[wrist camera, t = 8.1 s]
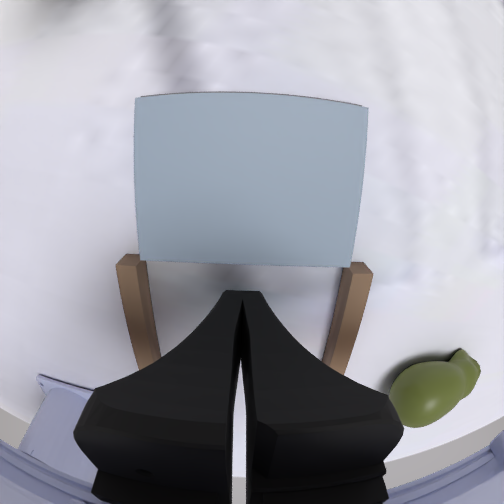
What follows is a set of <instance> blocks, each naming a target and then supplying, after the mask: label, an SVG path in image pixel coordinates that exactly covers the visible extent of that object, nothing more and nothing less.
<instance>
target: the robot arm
mask: <svg viewBox="0 0 504 504" xmlns="http://www.w3.org/2000/svg"><path fill="white" fill-rule="evenodd" d="M240 360H241V364H242V375H243V384H244V394H245V403H246V504H504V430H503V431H502V432H500V433H499V434H498V435H497V436H496V437H495V438H494V440H492V442H491V443H490V445H489V446H486V447H485V448H483V449H481V450H480V451H478V452H476V453H474V454H472V455H470V456H469V457H467V458H465V459H463V460H461V461H459V462H457V463H455V464H453V465H451V466H449V467H446V468H444V469H442V470H440V471H438V472H435V473H433V474H430V475H428V476H425V477H423V478H420V479H417V480H415V481H412V482H409V483H406V484H404V485H401V486H398V487H394V488H392V489H388V490H387V489H386V486H385V483H384V480H383V475H385V474H386V468H385V465H384V462H383V461H384V459H385V458H386V457H387V456H388V455H389V454H390V453H391V451H392V450H393V449H394V448H395V447H396V445H397V444H398V442H399V441H400V439H401V437H402V436H403V431H404V427H403V425H402V423H401V420H400V418H399V416H398V413H397V411H396V409H395V407H394V406H393V404H392V402H391V401H390V399H389V397H388V395H385V394H383V393H380V392H378V391H375V390H373V389H371V388H368V387H366V386H364V385H361V384H359V383H357V382H355V381H353V380H351V379H349V378H348V377H346V376H344V375H342V374H340V373H339V372H337V371H335V370H334V369H332V368H331V367H329V366H328V365H326V364H325V363H323V362H322V361H321V360H319V359H318V358H316V357H315V356H314V355H312V354H311V353H310V352H309V351H308V350H306V349H305V348H304V347H303V346H302V345H301V344H300V343H299V342H298V341H297V340H296V339H295V338H294V337H293V336H292V335H291V334H290V333H289V332H288V331H287V329H286V328H285V327H284V326H283V325H282V323H281V322H280V321H279V319H278V318H277V317H276V315H275V314H274V313H273V311H272V310H271V308H270V307H269V305H268V304H267V302H266V300H265V299H264V297H263V295H262V293H261V292H260V291H235V290H226V291H224V292H223V293H222V295H221V297H220V299H219V300H218V302H217V303H216V305H215V306H214V308H213V309H212V310H211V311H210V313H209V314H208V315H207V316H206V318H205V319H204V320H203V321H202V322H201V323H200V324H199V326H198V327H197V328H196V329H195V330H194V331H193V332H192V333H191V334H190V335H189V336H188V337H187V338H186V339H185V340H183V341H182V342H181V343H180V344H179V345H178V346H176V347H175V348H174V349H172V350H171V351H170V352H168V353H167V354H166V355H164V356H163V357H161V358H160V359H158V360H157V361H155V362H154V363H152V364H150V365H148V366H147V367H145V368H143V369H141V370H139V371H137V372H135V373H133V374H131V375H129V376H127V377H124V378H122V379H119V380H117V381H114V382H112V383H109V384H106V385H104V386H101V387H98V388H95V390H94V391H90V390H86V389H83V388H79V387H75V386H72V385H68V384H65V383H62V382H59V381H55V380H52V379H49V378H46V377H44V376H41V375H37V377H36V380H37V381H38V383H39V385H40V387H41V388H42V390H43V392H44V393H45V395H46V398H45V399H44V401H43V403H42V404H41V406H40V408H39V410H38V411H37V413H36V415H35V417H34V419H33V420H32V422H31V424H30V426H29V428H28V430H27V432H26V434H25V435H24V437H23V439H22V441H21V444H20V445H19V448H18V449H16V448H14V447H12V446H11V445H9V444H7V443H6V442H4V441H2V440H1V439H0V504H232V452H233V414H234V403H235V396H236V389H237V382H238V374H239V367H240Z"/></svg>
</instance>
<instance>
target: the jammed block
mask: <svg viewBox="0 0 504 504" xmlns="http://www.w3.org/2000/svg"><path fill="white" fill-rule="evenodd" d="M367 128H368V108H367V107H362V106H357V105H352V104H347V103H341V102H335V101H328V100H321V99H314V98H306V97H297V96H286V95H274V94H258V93H186V94H170V95H158V96H148V97H139V98H135V114H134V185H135V205H136V220H137V232H138V243H139V253H140V260H145V261H168V262H191V263H216V264H244V265H274V266H309V267H350V264H351V259H352V254H353V248H354V242H355V236H356V230H357V223H358V217H359V209H360V202H361V194H362V186H363V177H364V167H365V156H366V143H367Z"/></svg>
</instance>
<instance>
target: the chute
mask: <svg viewBox="0 0 504 504" xmlns="http://www.w3.org/2000/svg"><path fill="white" fill-rule="evenodd" d="M116 271H117V277H118V283H119V288H120V294H121V299H122V304H123V309H124V313H125V318H126V322H127V327H128V331H129V335H130V339H131V343H132V347H133V350H134V354H135V358H136V361H137V365H138V368H139V370H141V369H143V368H145V367H147V366H148V365H150V364H152V363H154V362H155V361H157V360H158V359H160V358H161V354H160V349H159V344H158V339H157V334H156V328H155V322H154V316H153V310H152V304H151V297H150V290H149V283H148V275H147V266H146V261H145V260H140V255H137V254H126V255H125V256H124V257H123V258H122V259H121V260H120V261H119V262H118V263H117V264H116ZM372 278H373V273H372V272H371V270H370V269H369V268H368V267H367V266H366V265H365V263H364V262H351V264H350V267H343V272H342V277H341V282H340V287H339V292H338V297H337V302H336V306H335V311H334V315H333V320H332V324H331V328H330V332H329V336H328V340H327V344H326V348H325V352H324V356H323V360H322V362H323V363H325V364H326V365H328V366H329V367H331V368H332V369H334V370H335V371H337V372H339V373H340V374H342V375H344V373H345V370H346V367H347V364H348V361H349V359H350V356H351V353H352V349H353V346H354V343H355V340H356V337H357V334H358V330H359V327H360V324H361V320H362V317H363V313H364V309H365V306H366V302H367V298H368V294H369V290H370V286H371V282H372Z"/></svg>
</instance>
